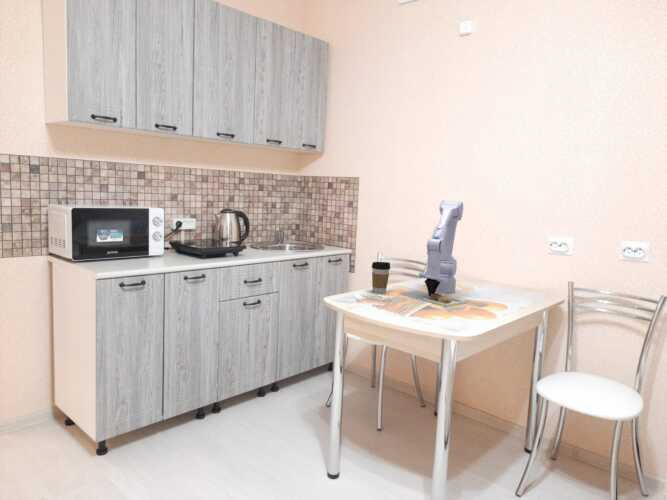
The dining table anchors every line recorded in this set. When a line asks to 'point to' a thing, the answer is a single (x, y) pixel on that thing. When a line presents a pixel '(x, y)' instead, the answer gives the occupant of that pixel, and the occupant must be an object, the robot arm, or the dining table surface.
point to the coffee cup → (380, 276)
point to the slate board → (417, 295)
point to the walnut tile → (435, 296)
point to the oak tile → (444, 299)
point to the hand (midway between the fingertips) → (431, 296)
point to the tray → (446, 304)
